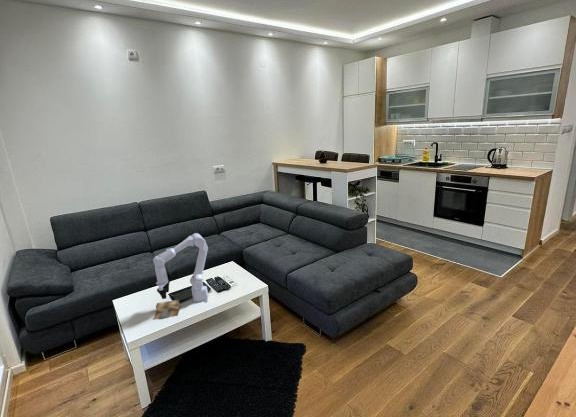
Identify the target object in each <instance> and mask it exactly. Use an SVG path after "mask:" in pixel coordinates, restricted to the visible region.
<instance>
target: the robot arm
mask: <svg viewBox="0 0 576 417" xmlns="http://www.w3.org/2000/svg"><path fill="white" fill-rule="evenodd" d="M187 247H197V248H198V249H199V251H198V255H197V259H196V264H195V267H194V272H193V273H192V276H191V277H190V279H189V283H190V284H191V288H190V289H191V293H192V299H193V302H194V303H199V302H204V303H207V302H208V301H209V292H208V287H207V285H204V283H203V279H204V278H203V273H204V268H205V264H206V259H207V255H208V252H209V247H208V243H207V241H206V239H204V237H203V236H202V235H201V234H200V233H198V232H195V233H193V234H191V235H188V237H187V238H185V239H184V240H182V242H180V243H178V244H177V245H176V246H174V247H173V248H172V247H169V248H165V251H163V252H162V253H159V254H158V255H156V256H154V257H153V259H152V262H153V266H154V270H155V276H156V280H157V281H156V282H155V285H157V286H158V288H157V289H156V292H157V293H158V294H159V295H160V297H161V299H162V300H165V299H167V293H169V292H170V282H171V279H169V278H168V273H167V269H166V266H165V264H166V263H167V262H169V261H170V260H172V259H173V258H174V257H176V255H177V253H179V252H181V251H182V250H184V249H185V248H187Z"/></svg>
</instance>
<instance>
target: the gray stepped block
mask: <svg viewBox="0 0 576 417" xmlns="http://www.w3.org/2000/svg"><path fill="white" fill-rule="evenodd" d="M170 315H171V311H170V312H169V310H165V311H163V313H162V314H161V319H166V317H167V318H171V317H170Z"/></svg>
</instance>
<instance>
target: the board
mask: <svg viewBox="0 0 576 417" xmlns="http://www.w3.org/2000/svg"><path fill="white" fill-rule="evenodd" d="M180 309H181V306H180V307H179V309H175V310H169V312H170V311H171V315H170V317H169V318H172V317H173V318H174V317H178V316H179V312H180ZM162 313H163V312H157V311H155V314H154V317H153V319H152V320H153V321H154V320H160V319H162V318H161V314H162ZM166 318H168V317H166ZM166 318H165V319H166Z"/></svg>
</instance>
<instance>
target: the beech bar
mask: <svg viewBox="0 0 576 417" xmlns="http://www.w3.org/2000/svg"><path fill="white" fill-rule="evenodd" d="M179 307H180V308H181V304H180V300H179V299H174V300H169V301H164V302H157V303H156V304H155V310H156V311H157V312H163V311H165V310H175V309H179ZM179 310H180V309H179ZM156 311H155V312H156Z"/></svg>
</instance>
